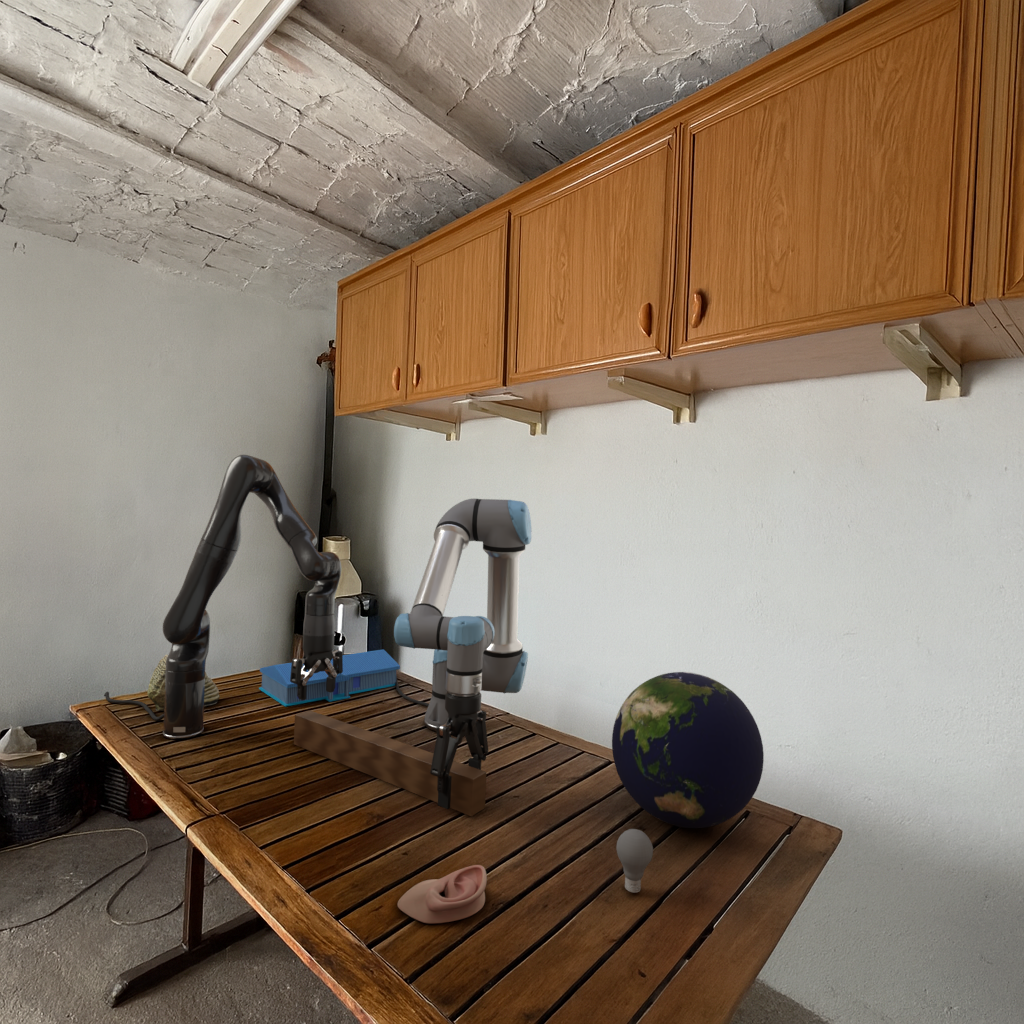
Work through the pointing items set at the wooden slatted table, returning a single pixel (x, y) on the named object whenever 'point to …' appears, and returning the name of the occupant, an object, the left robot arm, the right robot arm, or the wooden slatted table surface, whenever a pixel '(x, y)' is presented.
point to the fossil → (158, 687)
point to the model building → (355, 678)
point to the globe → (687, 750)
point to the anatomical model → (446, 896)
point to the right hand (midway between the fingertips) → (459, 797)
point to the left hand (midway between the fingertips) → (316, 695)
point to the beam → (388, 760)
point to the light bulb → (634, 857)
